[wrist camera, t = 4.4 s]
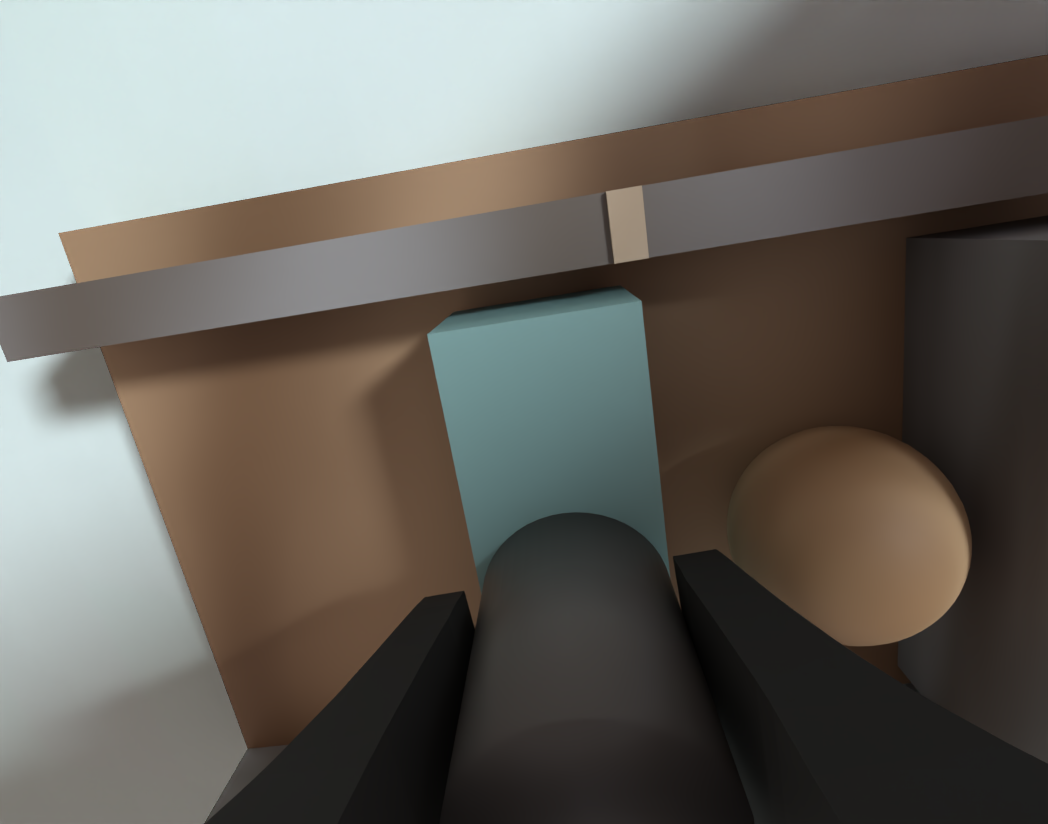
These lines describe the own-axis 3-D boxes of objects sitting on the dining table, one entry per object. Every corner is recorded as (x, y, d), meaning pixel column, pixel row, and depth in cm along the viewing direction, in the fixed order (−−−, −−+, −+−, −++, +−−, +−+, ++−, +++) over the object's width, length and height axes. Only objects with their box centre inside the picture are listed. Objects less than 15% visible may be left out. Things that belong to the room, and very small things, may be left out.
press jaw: (620, 285, 10) (724, 363, 4) (666, 698, 13) (776, 1128, 7) (454, 311, 11) (323, 421, 5) (531, 712, 13) (517, 1137, 7)
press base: (1091, 58, 11) (1612, -108, 5) (1030, 689, 15) (1299, 945, 9) (115, 233, 12) (-206, 234, 7) (295, 760, 16) (174, 1013, 11)
